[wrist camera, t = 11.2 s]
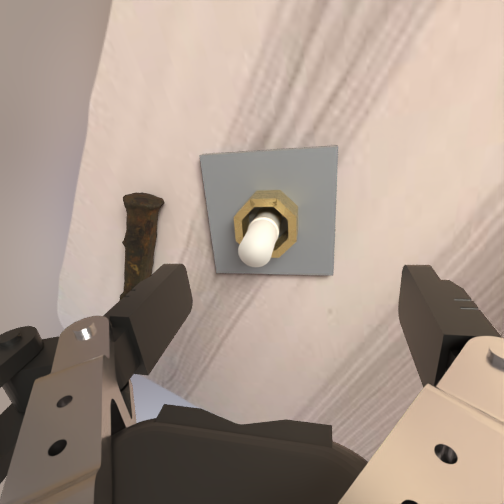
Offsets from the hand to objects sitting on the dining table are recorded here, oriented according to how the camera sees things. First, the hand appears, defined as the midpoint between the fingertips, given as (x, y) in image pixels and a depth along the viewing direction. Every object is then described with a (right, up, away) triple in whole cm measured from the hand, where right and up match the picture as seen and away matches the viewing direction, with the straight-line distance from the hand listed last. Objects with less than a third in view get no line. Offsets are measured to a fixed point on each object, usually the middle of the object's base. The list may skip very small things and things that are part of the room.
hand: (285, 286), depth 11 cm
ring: (+1, +5, +22) cm, 22 cm away
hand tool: (-15, 0, +29) cm, 32 cm away
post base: (+1, +6, +23) cm, 23 cm away
